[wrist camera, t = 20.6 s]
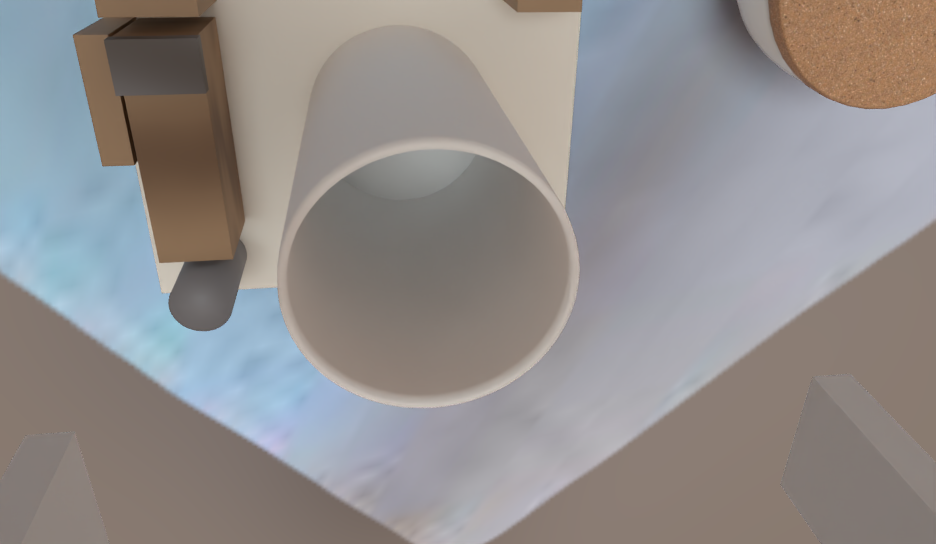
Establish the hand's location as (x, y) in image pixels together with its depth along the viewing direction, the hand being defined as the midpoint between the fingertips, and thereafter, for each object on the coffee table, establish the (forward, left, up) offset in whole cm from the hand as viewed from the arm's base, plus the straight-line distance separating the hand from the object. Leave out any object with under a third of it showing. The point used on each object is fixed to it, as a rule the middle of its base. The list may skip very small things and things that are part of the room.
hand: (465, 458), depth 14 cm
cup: (0, 0, -23) cm, 23 cm away
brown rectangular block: (0, -9, -23) cm, 25 cm away
